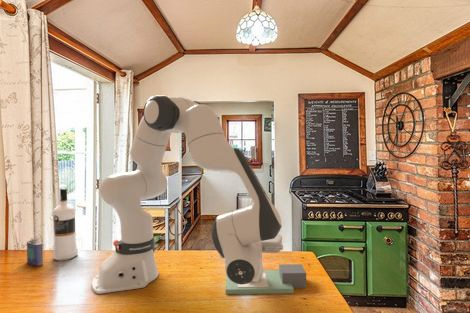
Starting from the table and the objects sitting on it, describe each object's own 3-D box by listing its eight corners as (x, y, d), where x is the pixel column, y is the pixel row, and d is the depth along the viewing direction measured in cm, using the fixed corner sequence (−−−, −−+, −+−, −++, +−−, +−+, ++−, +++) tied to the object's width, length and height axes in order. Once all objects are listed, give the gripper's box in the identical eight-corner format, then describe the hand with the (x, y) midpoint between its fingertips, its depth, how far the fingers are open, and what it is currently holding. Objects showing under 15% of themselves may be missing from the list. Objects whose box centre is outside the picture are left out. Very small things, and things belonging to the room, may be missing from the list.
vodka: (82, 255, 127) (79, 187, 126) (60, 262, 119) (57, 190, 118) (70, 251, 132) (68, 186, 131) (48, 258, 124) (46, 189, 123)
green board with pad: (225, 294, 93) (225, 278, 93) (226, 274, 107) (226, 261, 107) (309, 293, 93) (309, 277, 93) (299, 273, 107) (299, 260, 107)
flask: (44, 264, 118) (43, 238, 117) (36, 267, 115) (35, 241, 115) (32, 260, 122) (31, 235, 122) (24, 263, 120) (23, 237, 119)
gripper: (283, 239, 84) (283, 226, 98) (214, 237, 87) (223, 224, 101) (283, 261, 84) (283, 244, 98) (215, 257, 88) (224, 241, 101)
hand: (252, 234), depth 100 cm, fingers closed on water bottle, 7 cm apart
